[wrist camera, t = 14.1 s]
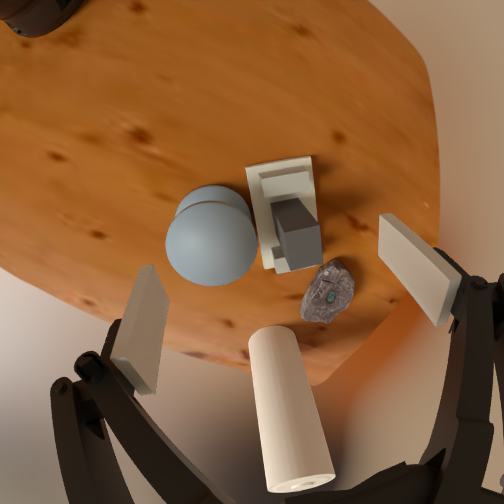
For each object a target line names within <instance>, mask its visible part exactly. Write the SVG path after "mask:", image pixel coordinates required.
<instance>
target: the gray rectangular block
mask: <svg viewBox="0 0 504 504" xmlns="http://www.w3.org/2000/svg"><path fill="white" fill-rule="evenodd" d="M270 205H271V211H272V216H273V221H274V226H275V232H276V236H277V238H278V241H279V243H280V246H281V248H282V251H283V253H284V256H285V258H286V261H287V263H288V266H289V269H290V271H293V270H298V269H302V268H306V267H310V266H314V265H319V264H323V254H322V244H321V233H320V225H319V224H318V222H317V221H316V220H315V218H314V217H313V216H312V215H311V213H310V212H309V211H308V210H307V208H306V207H305V206H304V205H303V203H302V202H301V201H300V200H299V198H298V197H297V198H293V199H288V200H283V201H278V202H274V203H270Z"/></svg>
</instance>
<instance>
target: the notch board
mask: <svg viewBox="0 0 504 504" xmlns="http://www.w3.org/2000/svg"><path fill="white" fill-rule="evenodd" d="M245 169H246V175H247V180H248V185H249V190H250V195H251V201H252V206H253V211H254V217H255V222H256V227H257V232H258V238H259V243H260V249H261V254H262V259H263V265H264V269H269V268H274V267H275V269H276V272H277V274H281V273H285V272H290V269H289V266H288V263H287V261H286V258H285V256H284V253H283V251H282V248H281V246H280V243H279V241H278V238H277V236H276V232H275V226H274V221H273V216H272V211H271V205H270V203H274V202H278V201H283V200H288V199H293V198H297V197H298V198H299V200H300V201H301V202H302V203H303V205H304V206H305V207H306V208H307V210H308V211H309V212H310V213H311V215H312V216H313V217H314V218H315V220H316V221H317V222H318V220H317V209H316V199H315V189H314V180H313V171H312V162H311V157H310V156H303V157H296V158H290V159H283V160H277V161H272V162H266V163H260V164H255V165H250V166H245ZM314 266H317V265H314ZM310 267H313V266H310ZM306 268H309V267H306ZM302 269H304V268H302ZM298 270H299V269H298ZM293 271H295V270H293Z"/></svg>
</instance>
